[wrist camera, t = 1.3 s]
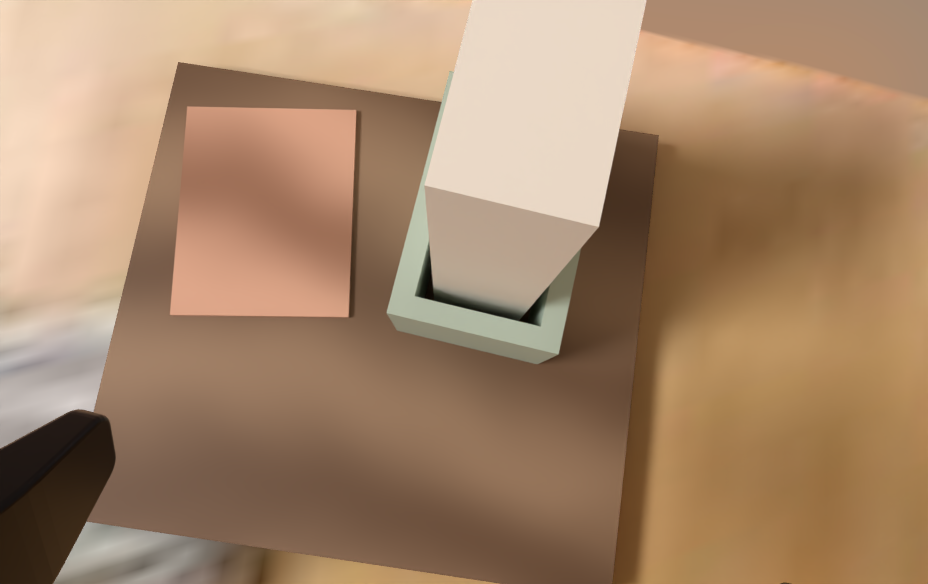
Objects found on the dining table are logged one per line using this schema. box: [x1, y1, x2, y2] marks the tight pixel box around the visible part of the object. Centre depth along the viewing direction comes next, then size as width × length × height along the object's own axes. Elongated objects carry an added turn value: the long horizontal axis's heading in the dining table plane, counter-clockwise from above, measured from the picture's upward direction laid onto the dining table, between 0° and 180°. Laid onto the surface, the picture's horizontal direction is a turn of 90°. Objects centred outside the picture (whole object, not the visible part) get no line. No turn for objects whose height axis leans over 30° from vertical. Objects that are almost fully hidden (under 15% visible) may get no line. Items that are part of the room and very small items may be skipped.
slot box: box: [387, 71, 581, 364], centre depth 20 cm, size 7×5×4 cm, turn 167°
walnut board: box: [87, 62, 659, 584], centre depth 22 cm, size 15×16×1 cm
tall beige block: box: [424, 0, 646, 321], centre depth 16 cm, size 5×3×12 cm, turn 167°
